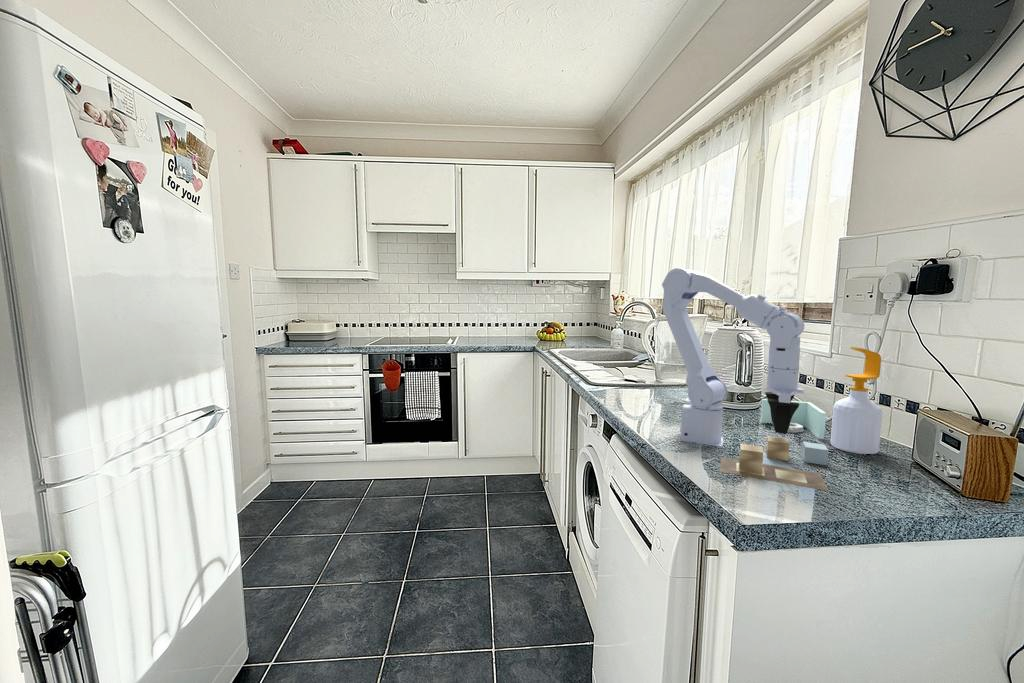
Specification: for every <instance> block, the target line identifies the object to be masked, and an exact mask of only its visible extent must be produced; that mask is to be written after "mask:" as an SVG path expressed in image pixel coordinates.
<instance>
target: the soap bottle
mask: <svg viewBox="0 0 1024 683" xmlns="http://www.w3.org/2000/svg"><path fill="white" fill-rule="evenodd" d="M850 349H851V350H853V351H856V352H860V353H862V354H864V356H865V357H864V358H865V359H864V360H865V361H864V369H863V373H861V374H855V373H854V374H845V377H848V378H851V379H852V382H854V386H850V388H849V395H848V396H847V397H844V398H841V399H839V400H836V401H835V403H834V405H833V406H832V421H831V431H830V432H831V433H830V445H831V446H832V447H834V448H835V449H838V450H840V451H843V452H847V453H850V454H851V453H852V454H858V455H863V454H864V455H865V456H866V454H871V455H877V454H878V453H879V451H880V443H881V433H882V423H883V422H882V420H883V410H882V408H881V407H880V406H879V405H878V404H876V403H875V402H874V401H872V400H870V399H869V397H868V396H869V388H868V387H865V383H868V380H877V379H879V378H880V375H881V366H882V356H881V355H880V353H878V352H875V351H873V350H869V349H866V348H862V347H856V346H855V347H854V346H850Z"/></svg>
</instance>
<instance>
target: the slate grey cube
mask: <svg viewBox="0 0 1024 683" xmlns="http://www.w3.org/2000/svg"><path fill="white" fill-rule="evenodd" d="M801 448H802V449H801V457H802V460H803V462H804V463H809V464H815V465H816V464H817V465H822V466H827V465H828V459H829V458H828V457H829V449H828V448H827V445H825V444H822V443H815V442H807V441H802V447H801Z"/></svg>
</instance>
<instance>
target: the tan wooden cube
mask: <svg viewBox="0 0 1024 683" xmlns="http://www.w3.org/2000/svg"><path fill="white" fill-rule="evenodd" d="M765 453H766V454H765V455H766V458H767V459H774V460H775V459H776V460H780V461H786V462H787V461H789V456H790V441H789V438H787V437H786V438H785V437H780V436H779V437H778V436H770V435H767V436H766V446H765Z"/></svg>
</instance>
